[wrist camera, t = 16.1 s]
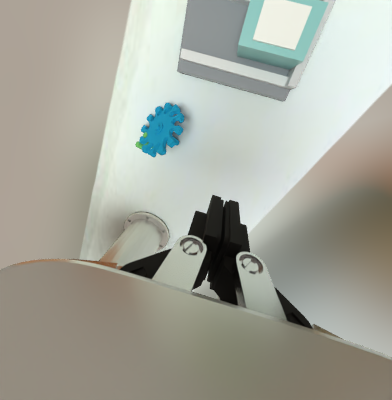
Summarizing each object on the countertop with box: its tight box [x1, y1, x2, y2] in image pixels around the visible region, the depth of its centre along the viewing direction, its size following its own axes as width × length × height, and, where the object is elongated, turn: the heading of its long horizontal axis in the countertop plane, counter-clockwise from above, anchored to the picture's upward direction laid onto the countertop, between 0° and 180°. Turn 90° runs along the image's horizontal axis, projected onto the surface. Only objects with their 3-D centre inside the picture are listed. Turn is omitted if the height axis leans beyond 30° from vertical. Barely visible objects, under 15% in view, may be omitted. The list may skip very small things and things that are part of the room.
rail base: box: [177, 0, 336, 101], centre depth 25 cm, size 12×18×4 cm, turn 77°
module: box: [237, 0, 328, 70], centre depth 22 cm, size 5×8×6 cm, turn 77°
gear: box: [136, 103, 184, 157], centre depth 33 cm, size 11×6×10 cm
